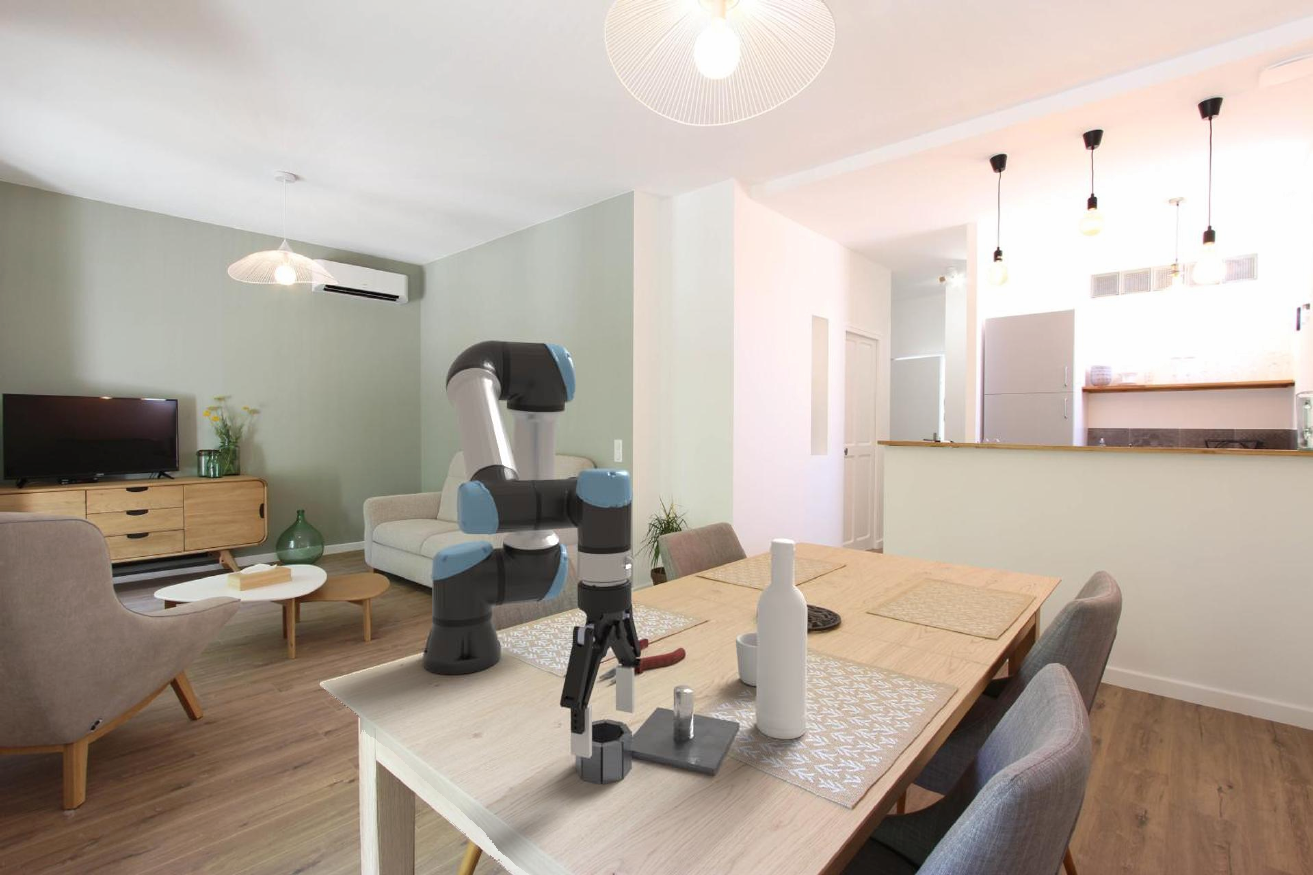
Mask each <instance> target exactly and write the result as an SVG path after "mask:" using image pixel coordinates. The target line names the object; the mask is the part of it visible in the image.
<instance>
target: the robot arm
mask: <svg viewBox="0 0 1313 875" xmlns="http://www.w3.org/2000/svg"><path fill="white" fill-rule="evenodd" d="M445 378H446V379H445V391H446V396H447V399H448V402H449V403H450V404H451V405H452V406H453V408H455V414H456V420H457V421H456V422H457V426H458V433H459V437H460V438H459V439H460V444H461V449H462V451H461V452H462V456H463V462H464V466H465V467H464V468H465V473H466V479H467V482H466V481H465V482H462V483H461V484H459V486H458V487H457V493H456V513H457V515H456V516H457V524H458V527H459V530H460V532H462V533H464V534H466V535H467V534H468V535H494V534H504V533H507V534H506V535H504V536H503V539H502V547H497V548H494V546H493V545H492V543H491V542H490V541H486V540H481V541H468V542H462V543H457V544H454V545H451V546H447V547H444V548H442V549H441V550H439V551H438V552H437V553H436V554H435V555H434V556H433V558H432V567H431V568H432V571H431V575H430V579H431V581H432V585H431V586H432V590H431V591H432V594H431V595H432V596H431V598H432V602H431V603H432V605H431V609H432V610H431V613H432V614H431V616H432V618H431V620H432V621H431V628H430V632H429V634H428V637H427V640H426V643H425V644H426V645H425V647H424V650H423V653H422V667H423V668H424V669H425V670H427V671H429V672H430V673H431V672H432V673H435V674H441V675H463V674H470V673H475V672H479V671H482V670H485V669H487V668H489V667H492V666H494V665H495V664H497V663H498V662H499V661H500V660H501V658H502V645H501V643H500V642H501V641H500V640H499V637H498V634H497V631H496V627H495V625H494V621H493V607H495V606H496V607H497V606H504V605H513V604H514V605H515V604H516V605H517V604H523V603H524V604H525V603H533V602H537V603H539V602H542V601H547V600H552V599H556V598H557V597H559V596H560V594H561V593H562V592H563V590H564V587H565V584H566V580H567V576H568V571H569V570H568V567H569V564H568V553H567V552H568V551H567V548H566V546H565V545H564V544H562V543H560V537H559V536H558V535H557V534H556V533H555V531H553V530H563V529H564V530H565V529H576V531H577V564H576V565H577V566H576V567H577V570H576V571H577V573H576V574H577V575H576V576H577V578H578V579H579V582H578V583H577V607H578V609H579V610H581V611H582V612H583V613H585V615H586V618H585V625H583V626H577V625H575V626H574V627H573V630H572V643H571V648H570V649H571V650H570V652H569V653H570V654H569V659H568V663H567V667H566V673H565V678H564V683H563V685H562V686H563V688H562V691H561V692H562V693H561V697H560V702H559V705H560V707H561V708H566V709H570V755H572V756H576V755H577V756H581V757H586V758H590V757H591V756H592V722H593V705H592V704H589V702H590V699H591V695H592V692H593V689H594V685H595V683H596V680H597V675H598V673H599V669H600V666H601V662H602V660H603V659H604V658H605V657H606V656H607V654H608V651H609V649H610V648H611V650H612V652H613V654H614V656H615V658H616V660H617V663H618V664H622V666H620V665H618V666H616V665H615V666H616V681H615V711H619V712H624V713H631V714H633V713H634V712H635V672H634V668H633V666H637V667H639V666H640V665H641V659H640V658H641V656H642V650H641V649H640V645H639V636H638V633H637V628H636V625H635V620H634V617H633V616H634V615H633V604H632V602H633V601H632V600H633V599H632V582H631V581H630V577H631V576H632V565H634V558H633V557H632V503H633V502H632V500H633V491H632V482H631V481H632V480H631V479H632V478H631V475H630V472H629V471H627V470H626V469H623V468H611V467H610V468H608V467H607V468H606V467H604V468H603V467H602V468H587V469H586V468H585V469H582V470H580V471H579V472H578V474H577V476H570V477H567V478H562V479H561V478H557V479H556V478H555V475H556V472H555V471H556V451H557V450H556V447H557V429H558V428H557V427H558V426H557V422H558V419H559V417H560V416H562V415H563V414H564V413H565V409H566V408H565V407H566V403H568V404H569V403H571V402H573V400H574V398H575V392H576V389H577V388H576V386H577V384H576V373H575V367H574V362H573V360H572V356H571V354H570V352H569V351H568V349H566V348H565V347H564V346H562V345H560V344H554V343H553V344H552V343H546V342H527V341H526V342H524V341H523V342H522V341H507V340H506V341H504V340H502V341H501V340H491V339H490V340H486V341H485V340H484V341H481V342H478V343H475V344H473V345H470V346H469V347H468V348H466V349H465V350H463V351H462V352H461V353H460V354H459V355H458V356H457V357H456V358H455V359H454V361H453V362H452V363H451V364H450V367H449V369H448V372H447V375H446V377H445ZM500 401H502V402H503V401H506V411H508V412H509V413H510V415H511V416H512V417H513V443H512V447H511V443H510V439H509V436H508V435H509V434H508V430H507V428H506V423H505V420H504V416H503V412H502V409H501V404H500ZM631 647H633V648H634V649H633V648H631Z"/></svg>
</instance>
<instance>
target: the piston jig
mask: <svg viewBox="0 0 1313 875" xmlns="http://www.w3.org/2000/svg"><path fill="white" fill-rule="evenodd" d="M694 691H695V690H694V688H693V687H691V686H689V685H686V684H685V685H683V684H681V685H677V686H675V687H674V688H673V709H670V708H664V707H658V706H657V707H656V709H654V711H653V712H652V713H651V714H650V715H649V716H648V717H647V719H646V720H645V721H644V722H643V723H642V725H641V726H640V727H639V728H638V729H637V730H636V731H635V733H634V734H632V759H633V758H635V759H639V760H643V761H647V762H650V763H651V762H652V763H656V764H660V765H665V766H669V767H674V768H679V769H683V770H687V771H692V772H696V773H700V774H705V775H709V776H713V777H714V776H716V774H717V772H718V770H719V768H720V766H721V764H722V763H723V761H724V759H725V757H726V755H727V753H728V751H729V749H730V748H731V745H732V744H733V742H734V740H735V738H736V736H737V735H738V732H739V731H740V727H741V725H740V722H737V721H733V720H728V719H727V720H726V719H723V718H722V719H721V718H717V717H716V718H715V717H711V716H706V715H700V714H695V713H694V693H695V692H694Z"/></svg>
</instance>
